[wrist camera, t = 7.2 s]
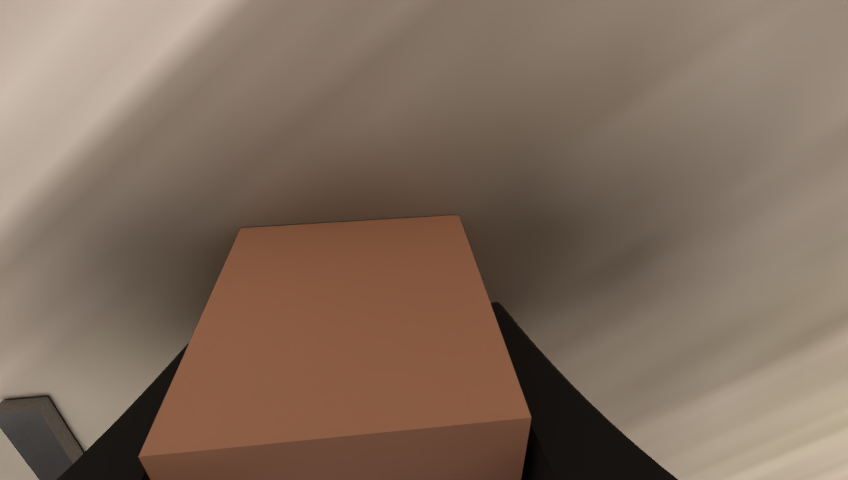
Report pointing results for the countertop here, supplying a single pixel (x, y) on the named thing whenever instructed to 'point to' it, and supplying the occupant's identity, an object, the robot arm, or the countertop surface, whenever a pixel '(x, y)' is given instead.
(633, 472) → the robot arm
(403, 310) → the terracotta block
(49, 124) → the countertop surface
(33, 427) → the rails
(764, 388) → the countertop surface
